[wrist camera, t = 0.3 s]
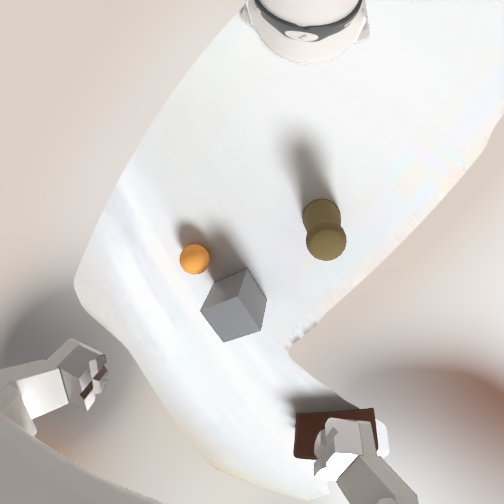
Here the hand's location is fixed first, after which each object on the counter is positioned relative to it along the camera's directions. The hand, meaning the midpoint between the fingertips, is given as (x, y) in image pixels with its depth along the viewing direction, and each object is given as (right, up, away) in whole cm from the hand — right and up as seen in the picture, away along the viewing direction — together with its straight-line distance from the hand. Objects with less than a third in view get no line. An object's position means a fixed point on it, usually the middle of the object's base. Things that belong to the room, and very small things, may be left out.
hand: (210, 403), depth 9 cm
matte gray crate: (-1, -2, +44) cm, 44 cm away
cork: (+12, +11, +37) cm, 40 cm away
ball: (-8, +4, +40) cm, 41 cm away
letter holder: (+23, -39, +58) cm, 74 cm away
